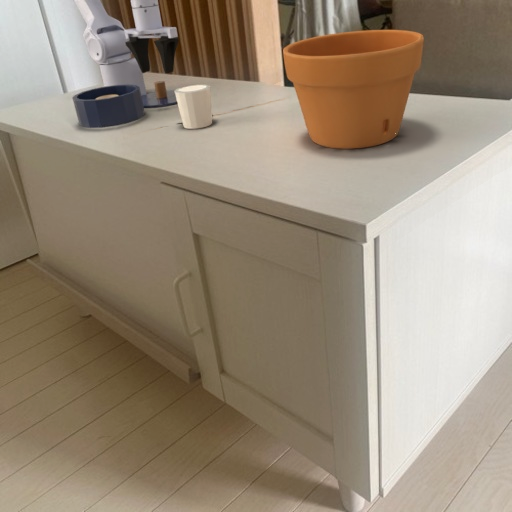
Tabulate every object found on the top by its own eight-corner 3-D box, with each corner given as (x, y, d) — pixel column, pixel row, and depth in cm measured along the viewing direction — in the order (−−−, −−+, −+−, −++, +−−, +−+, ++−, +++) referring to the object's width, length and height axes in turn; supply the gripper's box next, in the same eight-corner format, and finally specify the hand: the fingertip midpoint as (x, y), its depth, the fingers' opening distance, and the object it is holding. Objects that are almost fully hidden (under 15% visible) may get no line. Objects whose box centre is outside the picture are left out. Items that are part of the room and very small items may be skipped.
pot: (133, 108, 123) (128, 81, 120) (153, 119, 112) (148, 90, 109) (74, 121, 118) (66, 93, 115) (89, 134, 107) (81, 104, 104)
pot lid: (180, 91, 134) (177, 72, 132) (204, 100, 123) (201, 79, 121) (123, 103, 129) (119, 83, 126) (143, 114, 117) (139, 92, 115)
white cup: (220, 119, 107) (215, 83, 104) (206, 129, 101) (201, 91, 98) (189, 119, 109) (183, 84, 106) (174, 129, 104) (167, 92, 100)
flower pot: (345, 167, 77) (342, 59, 70) (265, 138, 93) (256, 47, 86) (447, 132, 86) (455, 33, 79) (358, 111, 102) (358, 27, 95)
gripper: (108, 10, 117) (122, 75, 124) (155, 7, 109) (167, 76, 116) (133, 6, 122) (145, 68, 128) (179, 3, 114) (189, 69, 120)
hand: (157, 72), depth 122 cm, fingers open, 7 cm apart
